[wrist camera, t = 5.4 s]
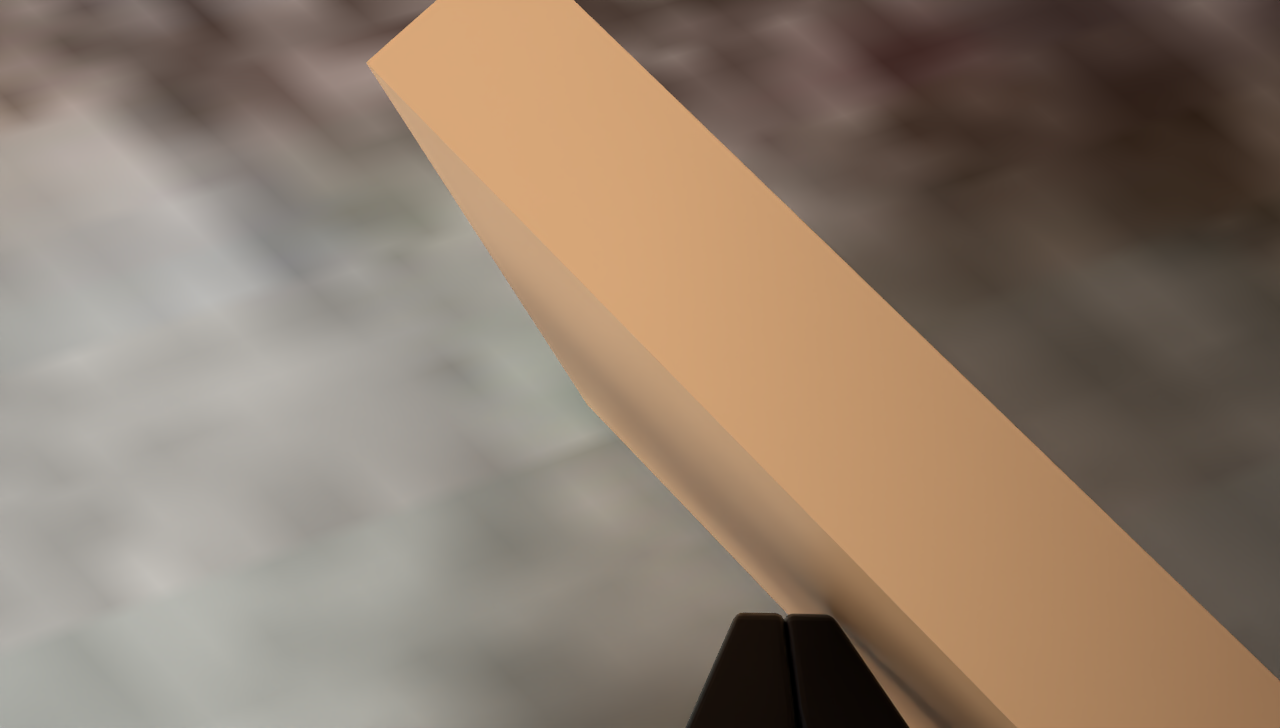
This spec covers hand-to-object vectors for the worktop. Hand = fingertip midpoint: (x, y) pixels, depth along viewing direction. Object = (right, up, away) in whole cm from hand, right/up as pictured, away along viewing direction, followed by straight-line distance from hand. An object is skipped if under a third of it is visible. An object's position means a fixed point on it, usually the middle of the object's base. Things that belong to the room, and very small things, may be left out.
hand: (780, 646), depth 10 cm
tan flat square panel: (+2, -2, +7) cm, 8 cm away
